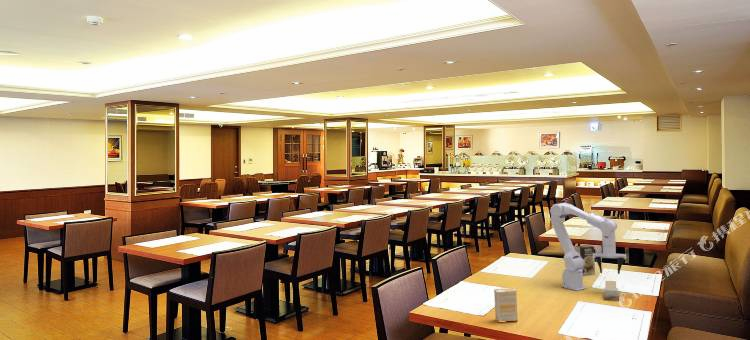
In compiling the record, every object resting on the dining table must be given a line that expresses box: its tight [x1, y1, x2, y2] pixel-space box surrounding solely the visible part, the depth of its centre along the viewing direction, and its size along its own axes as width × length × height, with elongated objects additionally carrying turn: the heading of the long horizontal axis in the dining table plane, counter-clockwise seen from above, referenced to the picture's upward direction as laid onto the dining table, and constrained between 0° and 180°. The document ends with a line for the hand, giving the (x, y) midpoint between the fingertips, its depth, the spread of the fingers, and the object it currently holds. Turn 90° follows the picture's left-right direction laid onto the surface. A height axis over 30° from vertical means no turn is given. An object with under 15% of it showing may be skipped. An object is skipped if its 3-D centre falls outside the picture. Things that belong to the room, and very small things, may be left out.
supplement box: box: [493, 287, 518, 322], centre depth 204 cm, size 8×5×13 cm, turn 92°
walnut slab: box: [602, 291, 620, 302], centre depth 230 cm, size 6×6×2 cm
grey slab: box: [604, 286, 620, 297], centre depth 230 cm, size 6×6×2 cm
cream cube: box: [604, 277, 617, 291], centre depth 230 cm, size 4×4×4 cm
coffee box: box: [573, 244, 596, 276], centre depth 279 cm, size 9×6×16 cm
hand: (609, 273), depth 237 cm, fingers open, 7 cm apart
